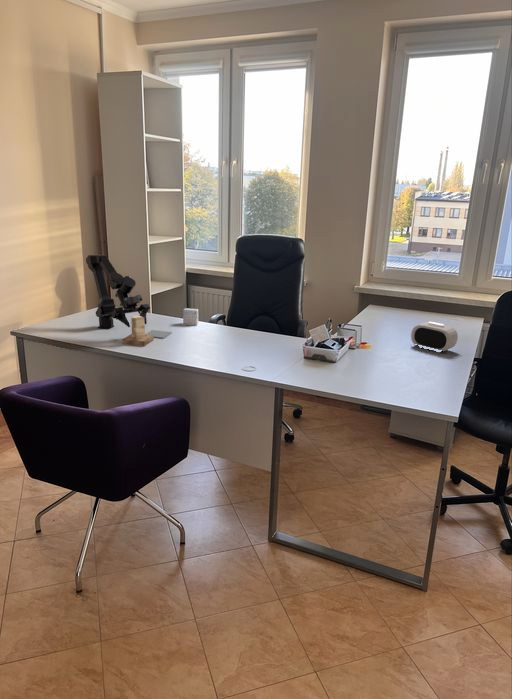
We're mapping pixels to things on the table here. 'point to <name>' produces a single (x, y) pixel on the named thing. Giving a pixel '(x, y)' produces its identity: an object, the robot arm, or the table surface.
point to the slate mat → (159, 334)
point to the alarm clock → (434, 336)
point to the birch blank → (138, 327)
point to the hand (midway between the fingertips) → (137, 325)
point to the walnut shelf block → (138, 340)
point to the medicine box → (190, 316)
